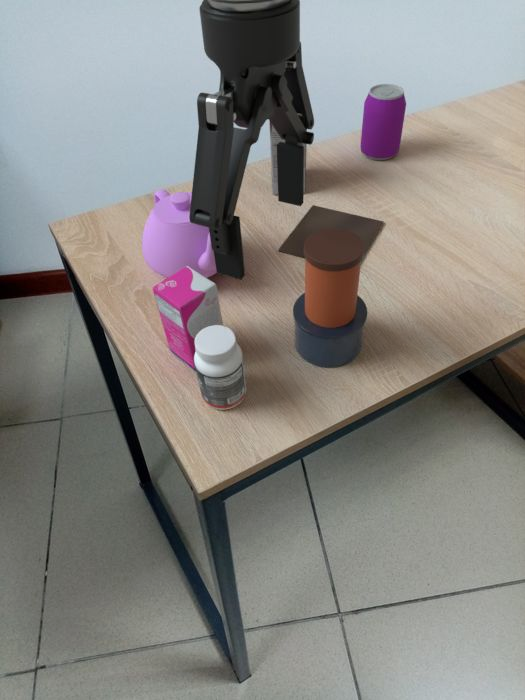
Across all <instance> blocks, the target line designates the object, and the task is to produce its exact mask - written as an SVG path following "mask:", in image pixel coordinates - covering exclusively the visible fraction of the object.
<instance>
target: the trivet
mask: <svg viewBox="0 0 525 700" xmlns="http://www.w3.org/2000/svg"><path fill="white" fill-rule="evenodd" d="M383 225H384V220H379V219H374V218H371V217H366V216H361V215H358V214H352V213H349V212H344V211H341V210H336V209H331V208H327V207H323V206H319V205H314V204H313V205H311V207H309V209H308V211H307V212H306V213H305V214H304V216H303V217H302V218H301V219H300V221H299V223H297V224H296V226H295V227H294V228H293V230H292V231H291V232H290V234H289V235H288V236H287V238H286V239H285V240H284V241H283V243H282V244H281V245H280V246H279V248H278V249H277V250H278V252H280V253H284V254H287V255H292V256H295V257H299V258H302V259H305V256H304V243H305V241H306V239H307V238H308V237H309V236H310V235H311V234H313V233H315V232H317V231H320V230H323V229H332V228H335V229H343V230H347V231H350V232H352V233H354V234H356V235H358V236H359V237H360V238H361V239H362V241H363V243H364V255H363V257H364V256H365V255H366V253H367V251H368V250H369V248H370V246H371V245H372V243H373V242H374V240H375V238H376V236H377V235H378V233H379V232H380V230H381V228H382V226H383Z"/></svg>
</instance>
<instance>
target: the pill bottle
mask: <svg viewBox="0 0 525 700" xmlns="http://www.w3.org/2000/svg"><path fill="white" fill-rule="evenodd" d="M195 350H196V352H195V355H194V363H195V368H196V371H195V372H196V376H197V381H198V386H199V390H200V395H201V398H202V400H203V402H204V403H205V404H206V405H207V406H209V407H210V408H212V409H215V410H222V411H224V410H229V409H233V408H235V407H237V406H238V405H240V404H241V403H242V402H243V400H244V399H245V397H246V395H247V379H246V373H245V372H246V371H245V366H244V365H245V363H244V355H243V351H242V349H241V347H240V346H239V344H238V342H237V338H236V334H235V332H234V331H233V330H232V329H231V328H229V327H227V326H225V325H223V326H221V325H213V326H209V327H206V328H204V329H202V330H201V331H200V332H199V333H198V334H197V335H196V337H195Z"/></svg>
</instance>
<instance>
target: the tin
mask: <svg viewBox="0 0 525 700" xmlns="http://www.w3.org/2000/svg"><path fill="white" fill-rule="evenodd" d="M292 317H293V320H294V347H295V350H296V352H297V353H298V355H299V357H301V358H302V359H303V360H304V361H305V362H307V363H309V364H311V365H313V366H315V367H320V368H328V369H329V368H339V367H343V366H346V365H348V364H350V363H352V362H353V361H354V360H355V359H356V358H358V356H359V355H360V353H361V350H362V346H363V339H364V331H365V324H366V322H367V318H368V307H367V304H366V302H365V300H363V298H362V297H361V296H360V295H358V294H357V303H356V312H355V316H354V318H353V319H352V320H351V321H350V322H349V323H347V324H346V325H344V326H341V327H336V328H326V327H321V326H318V325H316V324H314V323H313V322H311V321H310V320H309V319H308V318H307V316H306V314H305V292H303V293H302V294H300V295H299V297H297V298H296V300H295V302H294V304H293V308H292Z"/></svg>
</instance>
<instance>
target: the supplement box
mask: <svg viewBox="0 0 525 700" xmlns="http://www.w3.org/2000/svg"><path fill="white" fill-rule="evenodd" d="M152 292H153V296H154V299H155V302H156V306H157V310H158V313H159V317H160V319H161V322H162V323H161V324H162V328H163V330H164V333H165V338H166V340H167V344H168V348H169V351H170V352H171V353H172V354H174V355H175V356H176V357H177V358H179V359H180V360H181V361H182V362H184V363H185V364H186V365H187V366H188V367H190V368H191V369H192V370H194V371H195V372H196V368H195V363H194V355H195V352H196V350H195V337H196V335H197V334H198V333H199V332H200V331H201V330H202V329H204V328H206V327H209V326H213V325H221V326H224V323H223V316H222V311H221V304H220V299H219V293H218V287H217V284H216V283H215V282H213V281H212V280H210V279H209V278H205V277H204V276H202V275H200V274H199V273H197V272H196V271H194V270H193V269H191V268H190V267H188V266H186V267H185V268H183V269H182V270H180V271H178V272H177V273H175V274H174V275H172V276H170V277H169V278H164V280H162V281H161V282H159V283H157V284H156V285H154V286H153V287H152Z"/></svg>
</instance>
